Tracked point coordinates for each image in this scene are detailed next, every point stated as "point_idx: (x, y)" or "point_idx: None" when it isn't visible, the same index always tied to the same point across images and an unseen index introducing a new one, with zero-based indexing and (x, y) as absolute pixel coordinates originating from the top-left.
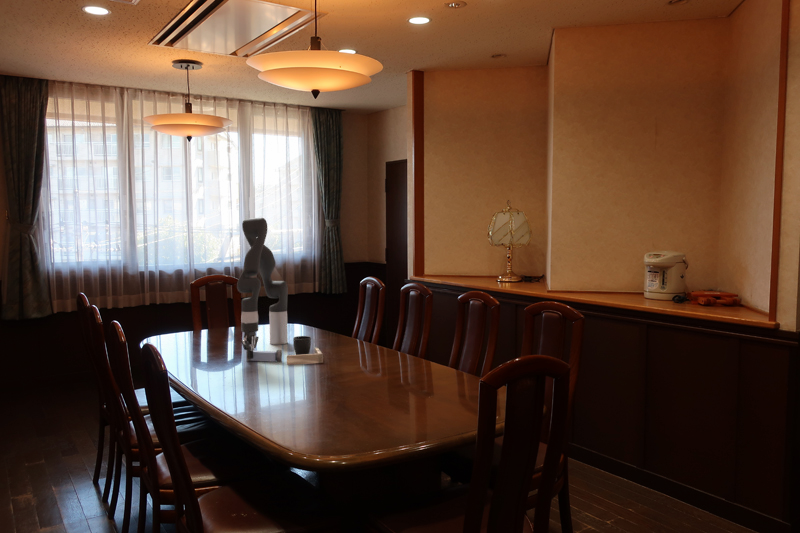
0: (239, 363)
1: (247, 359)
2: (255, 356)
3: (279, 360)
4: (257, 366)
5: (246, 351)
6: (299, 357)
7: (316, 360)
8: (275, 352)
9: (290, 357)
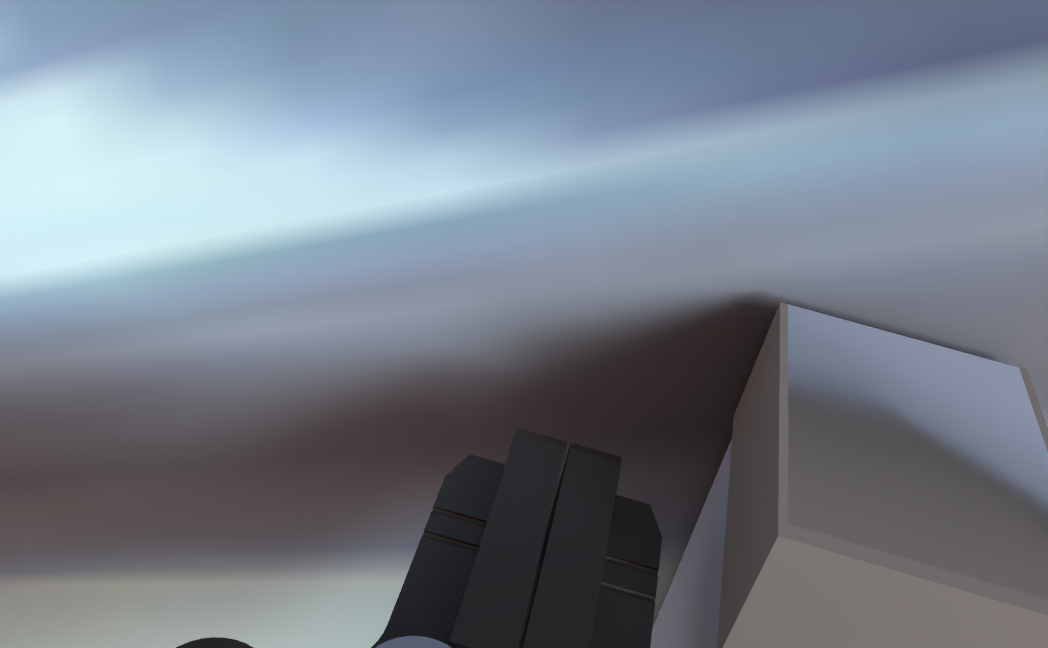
0: (415, 127)
1: (770, 345)
2: (681, 632)
3: None
4: (180, 566)
5: (776, 533)
6: None
7: None
8: None
9: None
